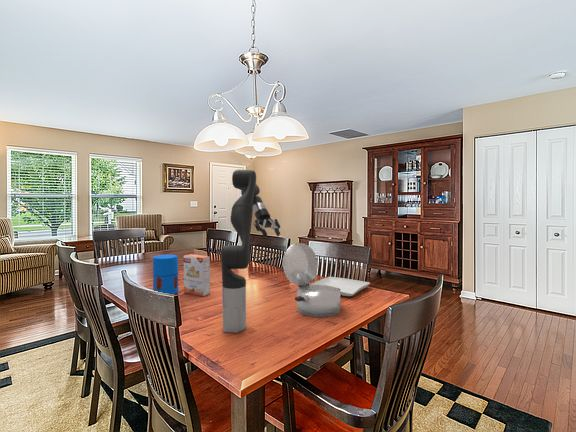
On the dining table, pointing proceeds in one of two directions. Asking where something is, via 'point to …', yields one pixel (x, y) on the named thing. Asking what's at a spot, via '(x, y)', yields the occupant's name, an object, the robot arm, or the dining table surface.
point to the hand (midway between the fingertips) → (272, 235)
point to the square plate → (343, 285)
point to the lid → (300, 264)
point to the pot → (318, 300)
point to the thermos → (165, 274)
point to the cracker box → (197, 274)
